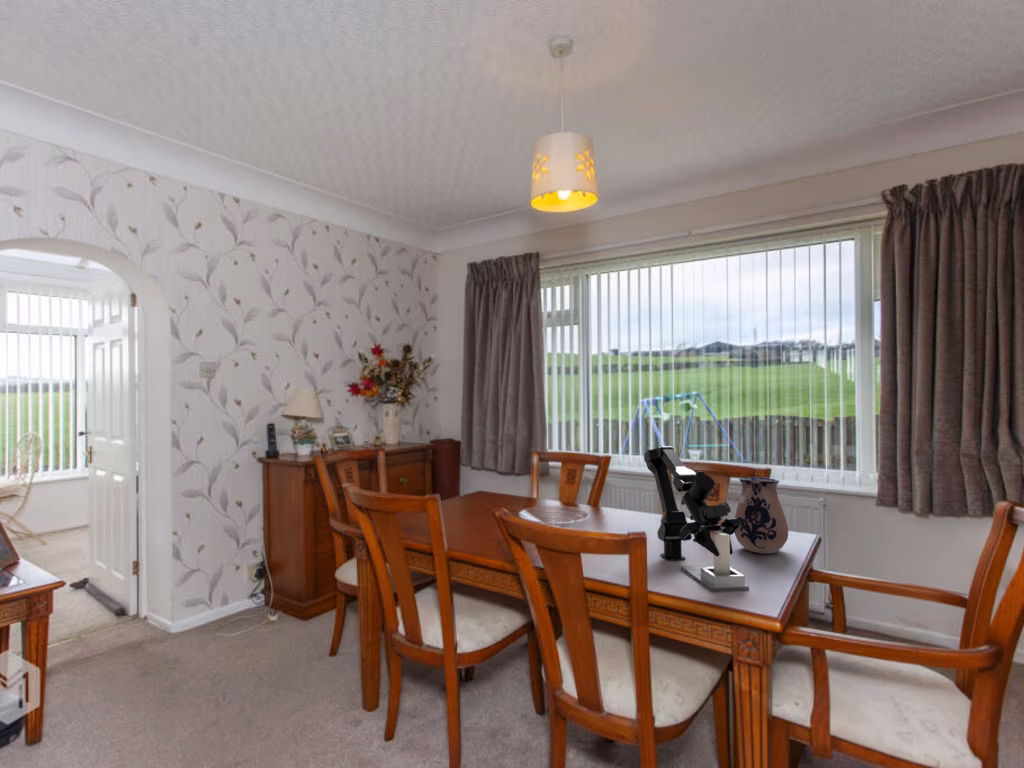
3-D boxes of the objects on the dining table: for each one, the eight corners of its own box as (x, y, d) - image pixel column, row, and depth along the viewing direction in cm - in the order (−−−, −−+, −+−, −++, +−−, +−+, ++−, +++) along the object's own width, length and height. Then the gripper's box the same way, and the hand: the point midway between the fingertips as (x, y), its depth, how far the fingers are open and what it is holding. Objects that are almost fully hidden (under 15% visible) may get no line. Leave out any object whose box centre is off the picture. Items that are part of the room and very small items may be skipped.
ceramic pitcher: (731, 554, 189) (730, 481, 190) (737, 539, 208) (736, 473, 209) (788, 560, 181) (786, 484, 182) (789, 545, 200) (788, 476, 200)
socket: (680, 569, 173) (680, 556, 173) (713, 567, 175) (713, 554, 175) (711, 592, 153) (711, 577, 153) (748, 590, 154) (748, 575, 154)
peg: (712, 573, 161) (711, 532, 161) (727, 574, 160) (727, 532, 160) (716, 578, 156) (715, 536, 156) (732, 579, 156) (731, 536, 156)
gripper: (685, 495, 159) (712, 543, 149) (736, 490, 166) (765, 536, 155) (668, 517, 166) (693, 564, 156) (718, 511, 173) (745, 556, 162)
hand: (725, 554), depth 157 cm, fingers closed on peg, 4 cm apart
